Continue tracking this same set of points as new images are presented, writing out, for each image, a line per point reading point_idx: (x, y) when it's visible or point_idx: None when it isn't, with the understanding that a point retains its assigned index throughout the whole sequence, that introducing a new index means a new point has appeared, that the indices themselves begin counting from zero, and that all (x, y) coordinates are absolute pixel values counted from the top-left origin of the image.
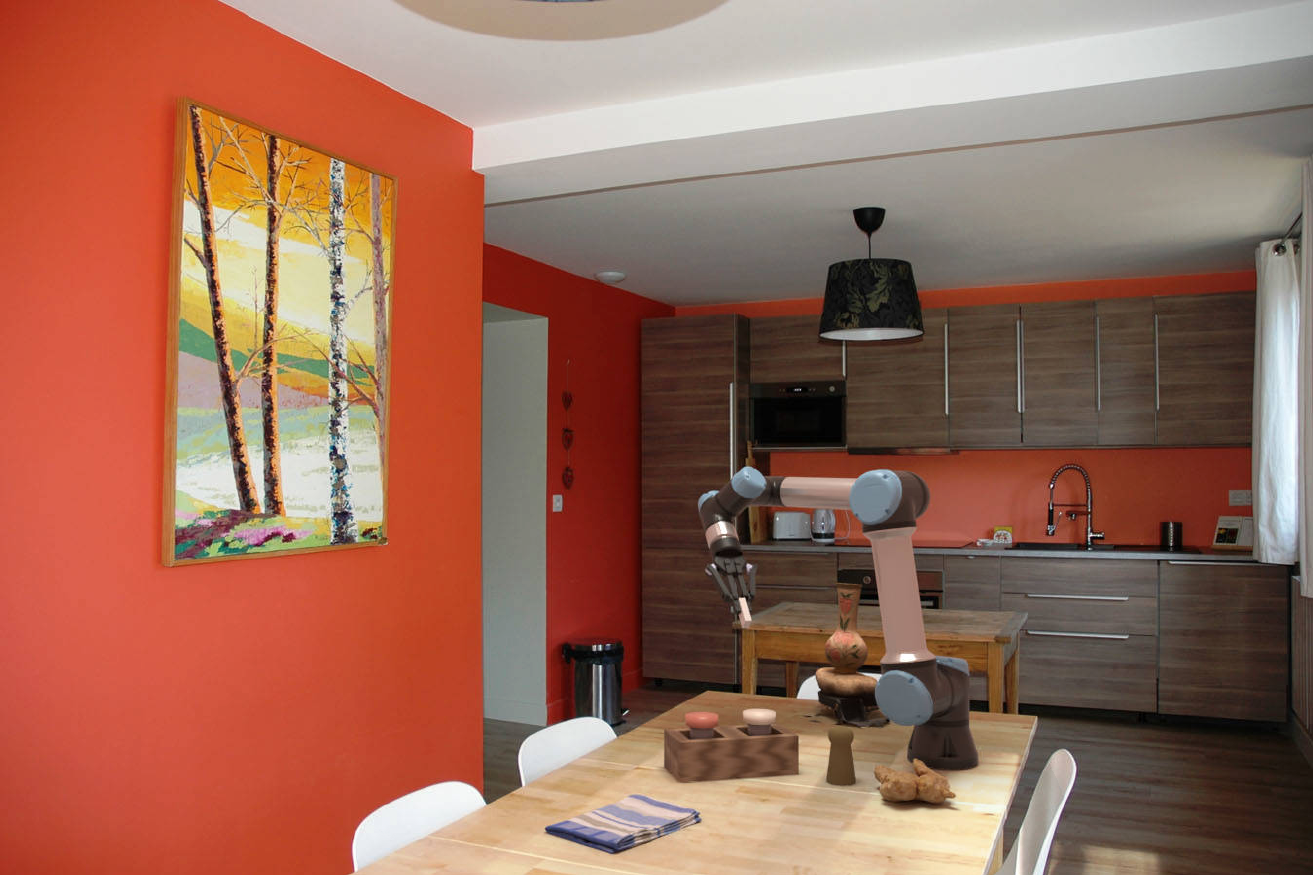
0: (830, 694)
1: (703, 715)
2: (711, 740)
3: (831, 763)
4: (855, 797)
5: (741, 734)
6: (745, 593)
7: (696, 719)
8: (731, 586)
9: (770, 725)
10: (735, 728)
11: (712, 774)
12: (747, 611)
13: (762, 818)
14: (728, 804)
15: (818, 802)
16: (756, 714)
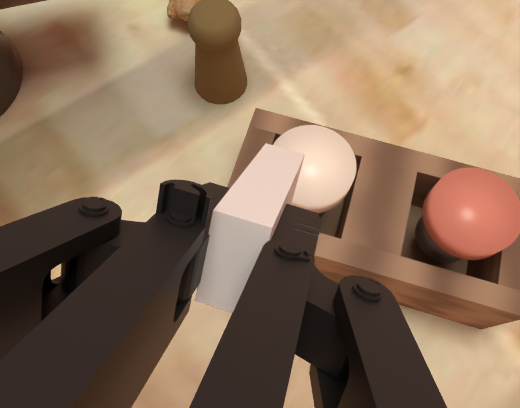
0: None
1: (474, 203)
2: (461, 167)
3: (241, 60)
4: (265, 15)
5: (367, 177)
6: (172, 233)
7: (507, 184)
8: (284, 337)
9: None
10: (345, 232)
11: None
12: (261, 166)
13: (455, 12)
14: (471, 79)
15: (333, 24)
16: (337, 145)
